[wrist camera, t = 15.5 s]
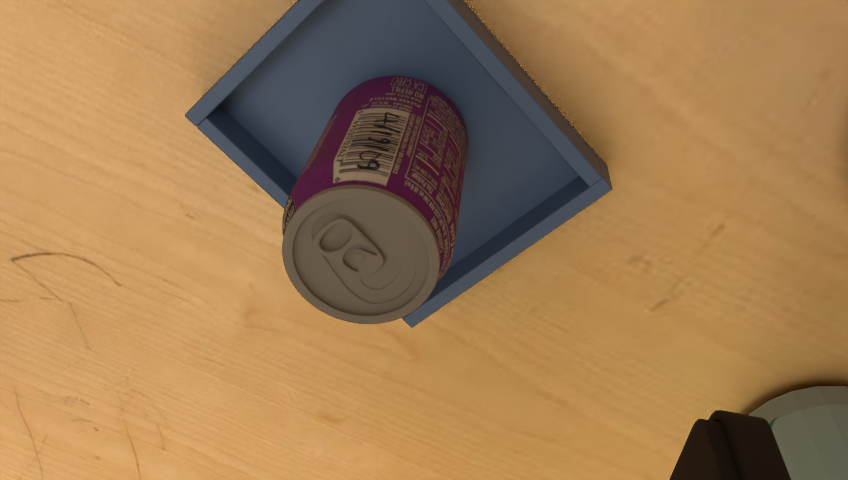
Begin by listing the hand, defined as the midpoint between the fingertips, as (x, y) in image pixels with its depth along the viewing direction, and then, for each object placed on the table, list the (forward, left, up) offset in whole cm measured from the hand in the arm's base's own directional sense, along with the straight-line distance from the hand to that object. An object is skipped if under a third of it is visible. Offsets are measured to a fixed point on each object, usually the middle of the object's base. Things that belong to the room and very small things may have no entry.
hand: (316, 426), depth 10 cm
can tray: (+5, -8, -31) cm, 32 cm away
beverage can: (+5, -8, -31) cm, 32 cm away
